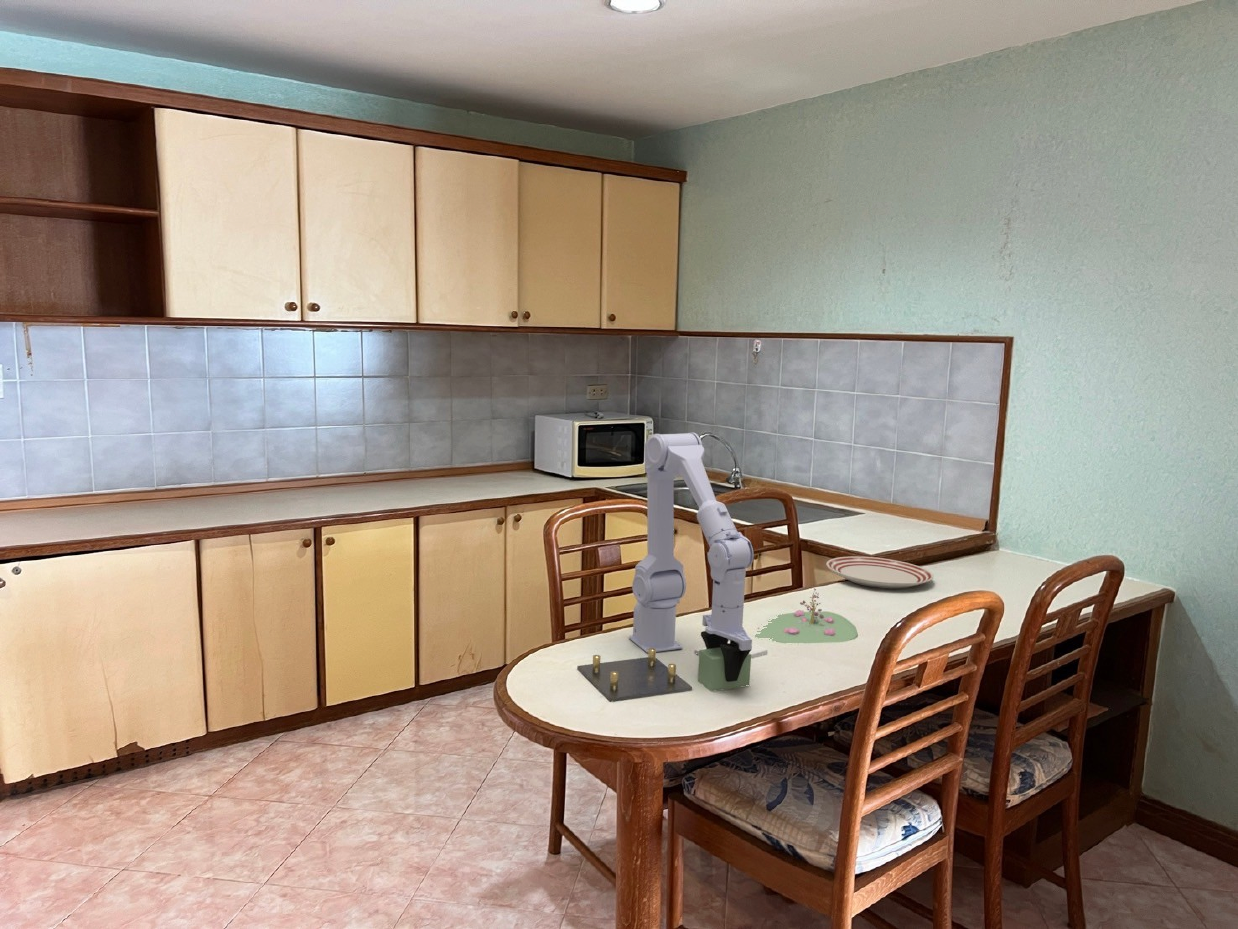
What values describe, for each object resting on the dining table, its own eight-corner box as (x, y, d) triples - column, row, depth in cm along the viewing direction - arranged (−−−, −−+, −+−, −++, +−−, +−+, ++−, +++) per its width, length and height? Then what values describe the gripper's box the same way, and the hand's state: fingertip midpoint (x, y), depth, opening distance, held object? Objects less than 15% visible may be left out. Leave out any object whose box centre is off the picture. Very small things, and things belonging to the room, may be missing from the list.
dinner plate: (868, 561, 262) (869, 550, 262) (953, 585, 241) (955, 572, 240) (804, 574, 246) (804, 562, 245) (889, 601, 224) (890, 588, 224)
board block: (697, 681, 169) (699, 650, 168) (735, 675, 172) (737, 645, 171) (711, 691, 165) (712, 659, 164) (749, 685, 168) (751, 654, 167)
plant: (806, 658, 184) (809, 615, 183) (729, 630, 200) (731, 590, 198) (876, 633, 201) (879, 594, 199) (800, 609, 216) (802, 572, 215)
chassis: (577, 668, 173) (577, 650, 172) (653, 659, 179) (654, 641, 179) (610, 701, 158) (610, 682, 158) (692, 690, 165) (693, 671, 164)
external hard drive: (767, 656, 184) (722, 669, 177) (738, 644, 191) (693, 656, 183) (767, 649, 184) (722, 661, 177) (738, 637, 191) (694, 648, 183)
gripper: (689, 594, 171) (686, 663, 173) (728, 617, 158) (724, 692, 160) (722, 590, 174) (718, 659, 176) (763, 614, 161) (759, 687, 163)
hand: (723, 675), depth 168 cm, fingers closed on board block, 5 cm apart
